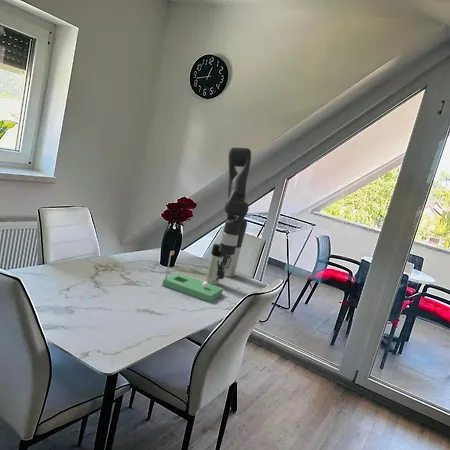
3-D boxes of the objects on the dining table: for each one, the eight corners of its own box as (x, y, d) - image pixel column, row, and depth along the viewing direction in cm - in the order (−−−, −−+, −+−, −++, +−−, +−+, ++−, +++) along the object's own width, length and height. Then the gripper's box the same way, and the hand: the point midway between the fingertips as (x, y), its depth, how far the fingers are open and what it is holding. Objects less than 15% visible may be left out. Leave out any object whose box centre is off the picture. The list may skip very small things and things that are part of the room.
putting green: (177, 278, 215) (183, 246, 212) (221, 294, 206) (229, 261, 203) (162, 285, 201) (168, 251, 198) (209, 302, 192) (217, 266, 189)
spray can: (216, 285, 217) (224, 248, 213) (204, 282, 218) (211, 245, 214) (219, 282, 223) (227, 246, 220) (207, 279, 224) (215, 242, 221)
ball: (203, 286, 203) (204, 280, 202) (208, 288, 202) (210, 282, 201) (200, 287, 200) (202, 281, 200) (206, 289, 199) (207, 283, 199)
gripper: (226, 239, 202) (218, 273, 205) (215, 242, 189) (207, 278, 192) (241, 243, 199) (233, 278, 202) (231, 247, 187) (222, 284, 190)
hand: (220, 278), depth 197 cm, fingers closed
